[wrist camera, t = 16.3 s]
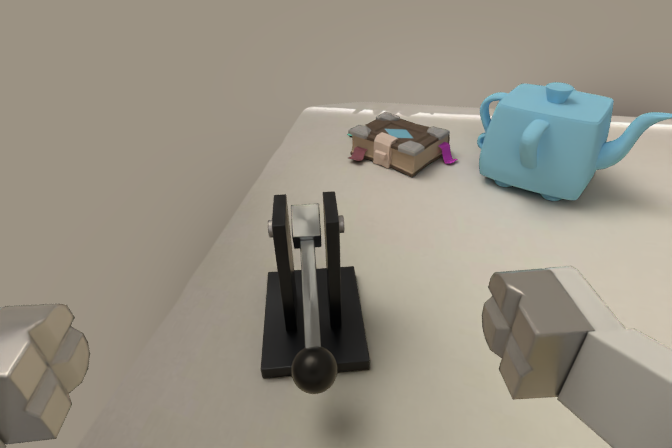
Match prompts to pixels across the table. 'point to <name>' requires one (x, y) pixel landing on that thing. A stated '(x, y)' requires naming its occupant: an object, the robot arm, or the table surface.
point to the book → (400, 144)
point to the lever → (310, 306)
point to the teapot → (552, 139)
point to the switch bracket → (333, 300)
